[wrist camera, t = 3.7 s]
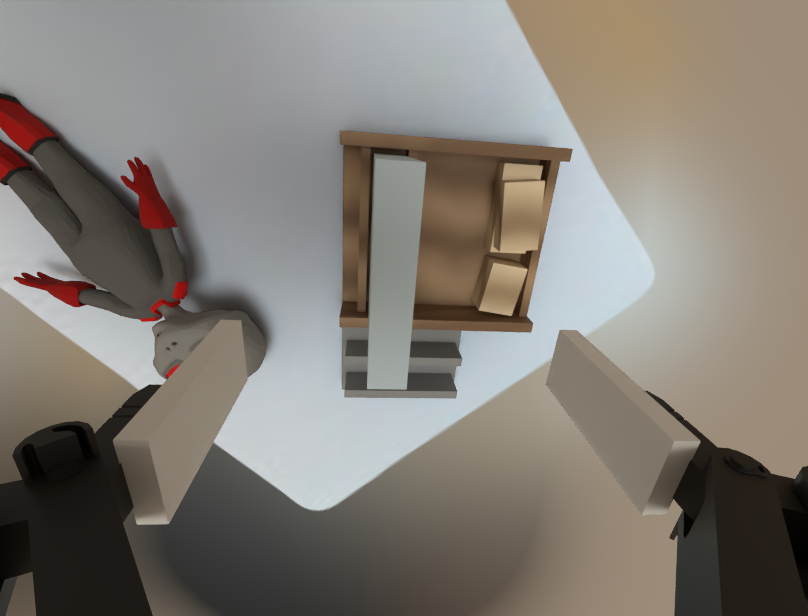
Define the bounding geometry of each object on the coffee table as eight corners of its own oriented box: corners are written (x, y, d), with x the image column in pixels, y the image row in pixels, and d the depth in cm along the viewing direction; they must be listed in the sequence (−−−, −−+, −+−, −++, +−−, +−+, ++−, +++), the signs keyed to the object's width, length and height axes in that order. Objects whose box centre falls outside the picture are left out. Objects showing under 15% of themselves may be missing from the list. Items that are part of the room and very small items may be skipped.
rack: (344, 132, 34) (340, 130, 29) (546, 148, 36) (572, 148, 31) (343, 306, 40) (339, 326, 36) (513, 312, 42) (531, 332, 38)
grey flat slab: (373, 152, 34) (375, 158, 19) (402, 154, 34) (426, 162, 19) (368, 297, 39) (367, 389, 24) (393, 298, 39) (406, 389, 25)
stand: (342, 384, 44) (339, 408, 40) (343, 323, 41) (339, 342, 37) (450, 385, 46) (458, 409, 41) (459, 326, 42) (468, 346, 38)
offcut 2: (497, 180, 33) (504, 182, 32) (535, 179, 34) (545, 180, 32) (493, 246, 36) (499, 252, 34) (529, 244, 36) (537, 249, 34)
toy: (-10, 26, 25) (286, 355, 31) (103, 73, 35) (316, 321, 40) (-131, 178, 29) (159, 452, 34) (3, 184, 38) (214, 400, 43)
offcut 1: (497, 162, 35) (504, 163, 33) (534, 164, 35) (543, 165, 33) (484, 246, 38) (490, 251, 36) (518, 248, 38) (525, 253, 36)
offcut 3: (484, 254, 38) (493, 262, 35) (516, 260, 39) (527, 269, 36) (471, 299, 40) (478, 310, 37) (502, 304, 41) (511, 316, 38)
